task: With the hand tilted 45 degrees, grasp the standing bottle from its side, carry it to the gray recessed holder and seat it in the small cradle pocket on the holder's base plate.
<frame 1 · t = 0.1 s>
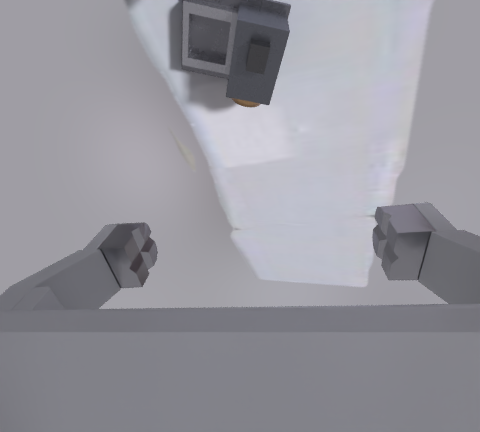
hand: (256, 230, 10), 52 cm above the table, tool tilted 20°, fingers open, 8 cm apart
gray recessed holder: (210, 34, 51), on the table
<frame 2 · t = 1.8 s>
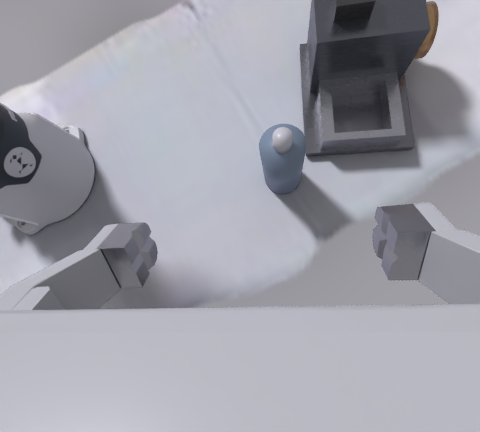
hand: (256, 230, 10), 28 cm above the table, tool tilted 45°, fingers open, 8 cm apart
bottle: (282, 176, 39), on the table
gray recessed holder: (354, 120, 40), on the table
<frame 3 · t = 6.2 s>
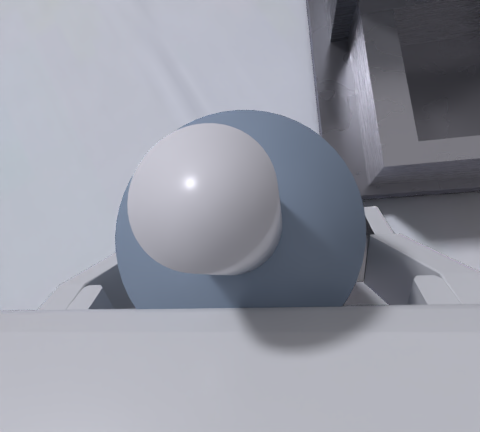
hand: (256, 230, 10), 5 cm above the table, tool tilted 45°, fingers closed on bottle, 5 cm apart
bottle: (268, 258, 15), on the table, touching gripper
gray recessed holder: (450, 104, 15), on the table
when the fingers open (7 cm above the table, at t = 11.0 s): bottle drops 1 cm, resting on gray recessed holder.
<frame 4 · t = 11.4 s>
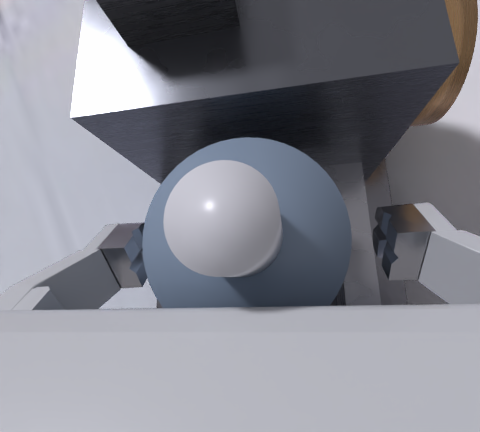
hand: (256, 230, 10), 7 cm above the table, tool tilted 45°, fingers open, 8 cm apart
bottle: (269, 260, 16), point 1 cm above the table, touching gray recessed holder
gray recessed holder: (271, 260, 17), on the table
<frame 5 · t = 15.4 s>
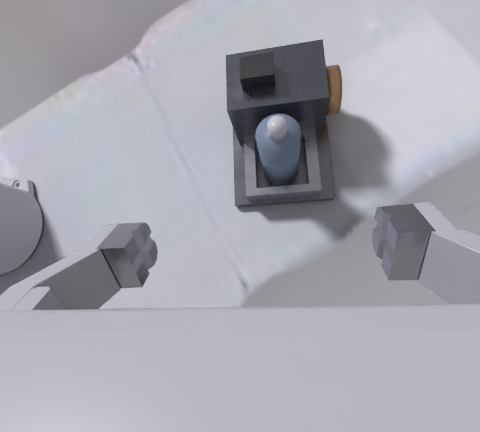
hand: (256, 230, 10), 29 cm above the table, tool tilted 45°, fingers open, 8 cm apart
bottle: (281, 168, 40), point 1 cm above the table, touching gray recessed holder
gray recessed holder: (281, 170, 41), on the table
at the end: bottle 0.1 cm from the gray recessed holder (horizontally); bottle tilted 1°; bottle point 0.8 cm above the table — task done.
